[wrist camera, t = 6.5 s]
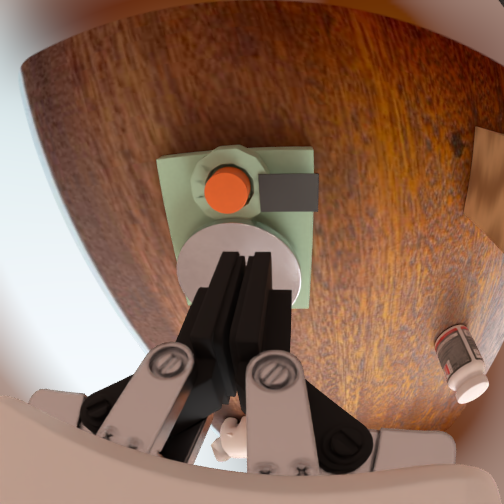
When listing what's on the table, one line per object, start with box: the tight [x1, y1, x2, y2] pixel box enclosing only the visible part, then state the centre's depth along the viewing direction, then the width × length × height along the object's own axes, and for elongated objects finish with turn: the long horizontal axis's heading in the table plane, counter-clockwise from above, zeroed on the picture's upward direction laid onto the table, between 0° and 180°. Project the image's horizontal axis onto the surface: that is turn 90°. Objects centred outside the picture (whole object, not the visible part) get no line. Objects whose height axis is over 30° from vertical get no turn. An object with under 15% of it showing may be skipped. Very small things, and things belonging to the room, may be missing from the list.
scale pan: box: [177, 173, 319, 305], centre depth 24 cm, size 14×12×1 cm
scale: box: [156, 145, 314, 308], centre depth 25 cm, size 17×13×3 cm
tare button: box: [204, 167, 251, 214], centre depth 21 cm, size 3×3×2 cm
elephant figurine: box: [211, 416, 247, 462], centre depth 44 cm, size 10×12×9 cm
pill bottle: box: [435, 325, 489, 404], centre depth 27 cm, size 6×6×10 cm
